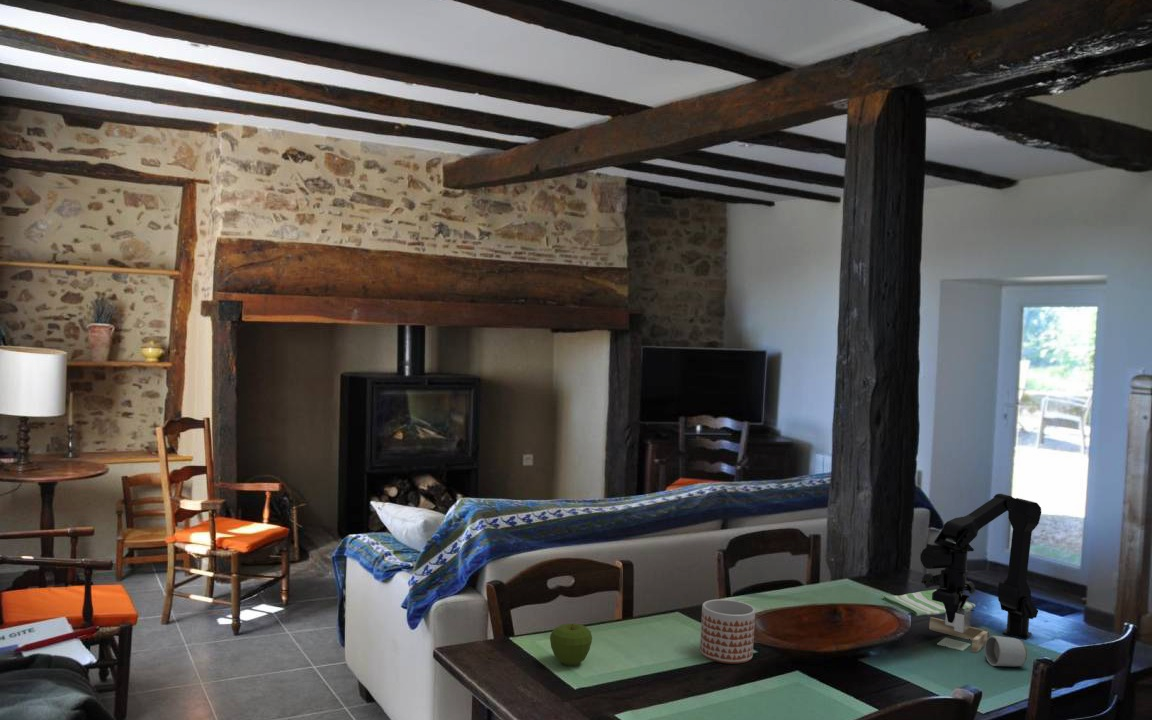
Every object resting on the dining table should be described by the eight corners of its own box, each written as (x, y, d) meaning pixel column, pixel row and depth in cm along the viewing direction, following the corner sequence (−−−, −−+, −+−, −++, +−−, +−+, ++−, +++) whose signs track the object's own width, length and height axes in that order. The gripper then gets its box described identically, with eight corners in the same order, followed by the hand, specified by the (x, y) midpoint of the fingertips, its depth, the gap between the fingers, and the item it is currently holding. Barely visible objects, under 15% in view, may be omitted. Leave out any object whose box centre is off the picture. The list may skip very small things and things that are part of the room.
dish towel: (879, 600, 296) (880, 591, 296) (937, 596, 304) (938, 588, 304) (917, 618, 280) (917, 609, 280) (977, 613, 287) (978, 604, 287)
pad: (945, 638, 260) (945, 637, 260) (971, 645, 255) (971, 644, 255) (937, 644, 255) (937, 643, 254) (963, 651, 250) (963, 650, 250)
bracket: (969, 627, 255) (971, 610, 255) (963, 632, 251) (964, 615, 250) (947, 622, 259) (949, 605, 259) (940, 627, 254) (941, 609, 254)
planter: (762, 655, 239) (765, 608, 239) (733, 668, 229) (736, 618, 229) (719, 641, 248) (721, 595, 248) (689, 653, 238) (692, 605, 238)
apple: (570, 652, 235) (572, 614, 234) (600, 664, 227) (602, 625, 227) (539, 661, 227) (541, 622, 227) (569, 674, 220) (571, 634, 219)
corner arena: (930, 628, 268) (931, 616, 268) (988, 643, 258) (989, 630, 258) (916, 637, 259) (917, 625, 259) (975, 653, 249) (976, 640, 249)
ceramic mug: (1028, 670, 238) (1030, 641, 237) (998, 670, 237) (1000, 641, 237) (1005, 656, 248) (1006, 628, 248) (976, 656, 247) (978, 628, 247)
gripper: (937, 555, 269) (934, 607, 269) (914, 566, 254) (911, 621, 255) (977, 563, 262) (973, 616, 262) (956, 575, 247) (952, 631, 248)
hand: (951, 621), depth 257 cm, fingers closed on bracket, 2 cm apart
